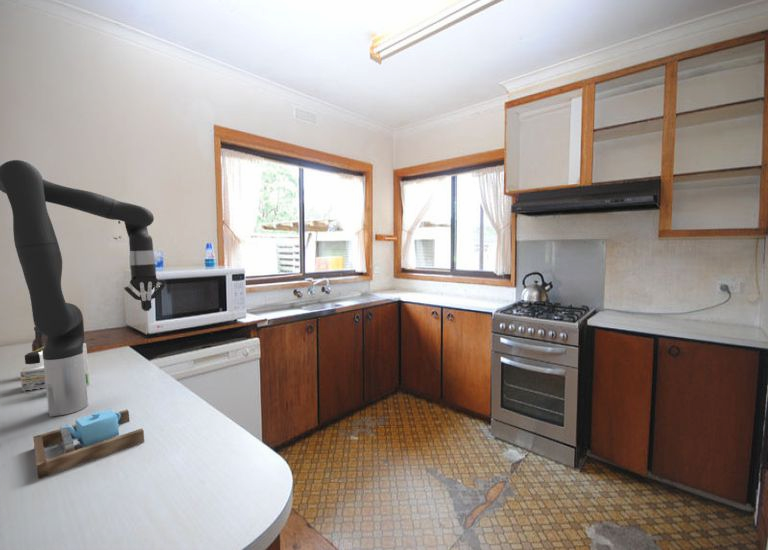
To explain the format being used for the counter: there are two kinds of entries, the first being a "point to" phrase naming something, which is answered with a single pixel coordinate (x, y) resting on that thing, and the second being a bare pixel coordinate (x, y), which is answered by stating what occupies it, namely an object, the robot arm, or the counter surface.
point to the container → (33, 371)
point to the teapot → (96, 427)
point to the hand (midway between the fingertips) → (146, 310)
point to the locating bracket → (84, 453)
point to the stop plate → (66, 440)
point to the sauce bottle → (39, 341)
